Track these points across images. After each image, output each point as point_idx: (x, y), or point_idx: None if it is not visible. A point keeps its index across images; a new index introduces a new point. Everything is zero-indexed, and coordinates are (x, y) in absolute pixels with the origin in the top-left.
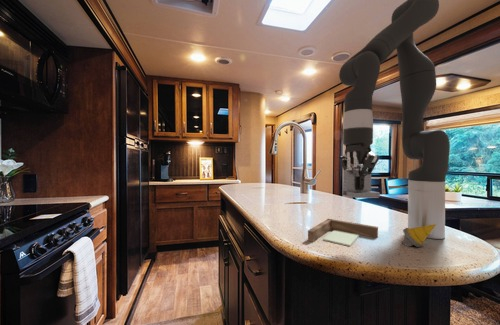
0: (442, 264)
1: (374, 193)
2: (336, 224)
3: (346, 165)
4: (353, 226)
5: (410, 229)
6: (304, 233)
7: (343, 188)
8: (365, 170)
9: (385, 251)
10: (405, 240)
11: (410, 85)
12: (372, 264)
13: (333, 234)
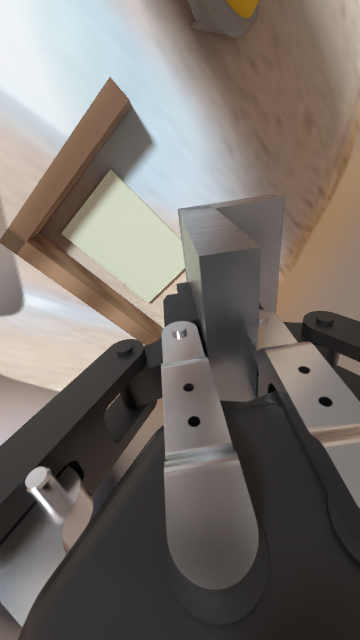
0: (354, 65)
1: (279, 237)
2: (41, 224)
3: (104, 435)
4: (76, 175)
5: None
6: (95, 326)
7: None
8: (354, 381)
9: (241, 176)
10: (205, 20)
11: None
12: (288, 262)
13: (112, 260)
